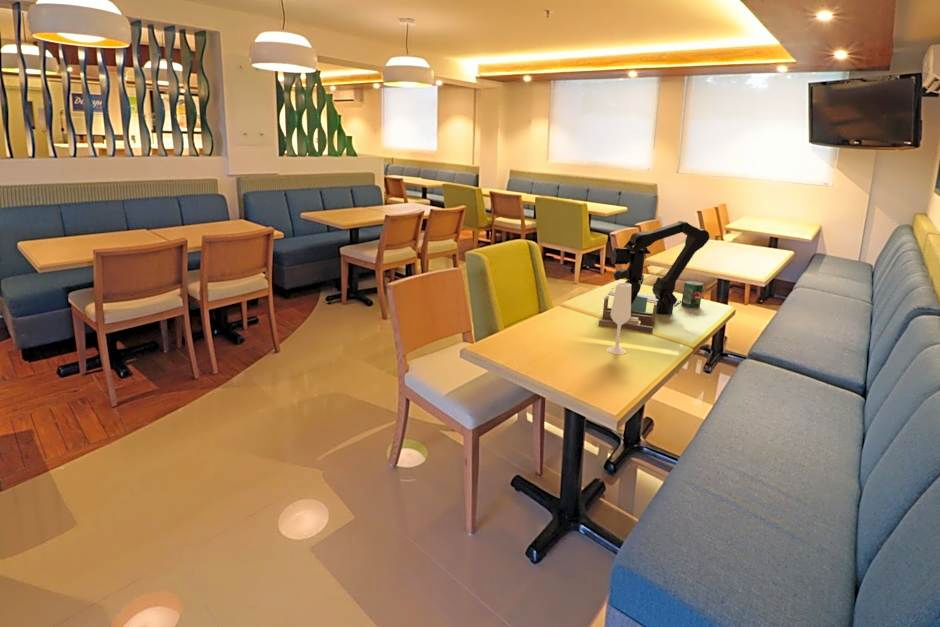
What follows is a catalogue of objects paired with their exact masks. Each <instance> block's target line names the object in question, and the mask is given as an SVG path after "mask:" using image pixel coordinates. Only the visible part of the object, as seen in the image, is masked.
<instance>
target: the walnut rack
mask: <svg viewBox="0 0 940 627" xmlns="http://www.w3.org/2000/svg"><path fill="white" fill-rule="evenodd" d="M609 296H610V295H605V297H604V298H603V299H604V301H603V311H602V316H601V317H602V318H601V319H599V320H598V326H601V327H607V328H616V329H617V326H618V324H616V323H615V322H614V321H613V320H612V318H611V315H610V314H611V309H612V307H609V306H608V305H609V298H610V297H609ZM656 308H657V302H656V301H655V302H654V303H653V309H652V312H639V311H631V317H638V321H641V322H640V325H636V324H629V323H624V324H622V325H621V329H622V330H630V331H635V332H636V331H637V332H643V333H651V334H652V333H653V332H654V327H655V326H654V325H655V322H656V314H657V313H656Z"/></svg>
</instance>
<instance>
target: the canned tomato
mask: <svg viewBox="0 0 940 627" xmlns="http://www.w3.org/2000/svg"><path fill="white" fill-rule="evenodd" d="M704 284H705V283H703V282H702V281H699V280H685V281H684V285H683V290H682V291H683V292H682V299H681V302H680V303H681V304H680V306H681V305H682V306H681V307H683V308H685V307H686V308H687V309H692V310H696V309H700V308H701V302H702V301H701V300H702V295H703V289H704Z"/></svg>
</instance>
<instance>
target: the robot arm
mask: <svg viewBox="0 0 940 627" xmlns="http://www.w3.org/2000/svg"><path fill="white" fill-rule="evenodd" d="M681 233H682V234H684V235H685V236H686V237H685V242H684V247H683V248H682V250H680V253H679V254H678V256H677V257H676V259H675V260H674V262H673V263H672V265H671V267H670V268H669V269H668V271H667V273H666V274H665V276H663V277H659V276H658V277H657V278H656V280H655V282H654V283H653V284H652V286H653V287H652V289H651V290H652V293H653V295H655V297H656V299H658V300H657V308H656V314H657V315H664V316H667V315H668V316H669V315H671V314H672V315H673V313H674V312H673V311H674V307H673V305H674V304H675V303H676V301H677V298H678V297H676V296H675V295H674V291H675V289H676V282H677V281H678V280H679V277H681V275H682V273H683V272H684V270H685V268H686V267H687V266H688V264H689V263H690V261H691V259H692V258H693V256H694V255H695V253H697V251H699V250H700V249H702V248H703V247H704V246H705V245H706V244H707V243H708V242H709V240H710V233H709V231H707V230H706V229H702V228H699V227H695V226H693V225H691V224H690V223H688V222H687V221H683V220H679V221H677V222H674V223H672V224H669V225H666V226H661V227H660V228H656V229H653V230H646V231H644V230H643V231H637V232H633V233H632V234H631V236H630V237H629V238H630V239H628V241H627V243H625V245H624V246H623V247H618V246H617V247H616V246H615V247H613V250H612V252H611V254H610V262H611V264H612V265H627V264H628V265H627V266H628V267H627V268H624V269H619V270H616V271H614V272H613V278H614V280H615V281H619V280H622V279H626V281H625V282H624V283H629V284H631V304H632V303H633V301H634V300H635V298H636V296H637V294H638V293H640V291H641V288H642V285H643V283H644V279H645V275H644V274H643V273H644V269H645V266H644V264H645V257H646V255H650V254H651V251H650V250H649V249H648V247H650V246H652V245H654V243H655V242H657V241H660V240H663V239H666V238H670V237H672V236H676V235H678V234H681Z"/></svg>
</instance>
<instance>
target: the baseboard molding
mask: <svg viewBox="0 0 940 627" xmlns="http://www.w3.org/2000/svg"><path fill="white" fill-rule="evenodd" d="M615 290H616V288H614V287H613V288H611V290H610V291H609V292H608V293H607V296H613V297H614V295H615ZM637 295H638V296H647V303H651V302H653V303H652V304H654V302H655V301H656V302H657V300H658V299H656V297H655V295H654V294H649V293H645V292H639V293H638V294H637ZM679 302H680V303H682V299H677V301H676V303H675V304H674V305H673V306H674V307H673V308H675V307H677V306H678V305H679V304H680V303H679ZM678 303H679V304H678ZM677 304H678V305H677Z"/></svg>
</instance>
